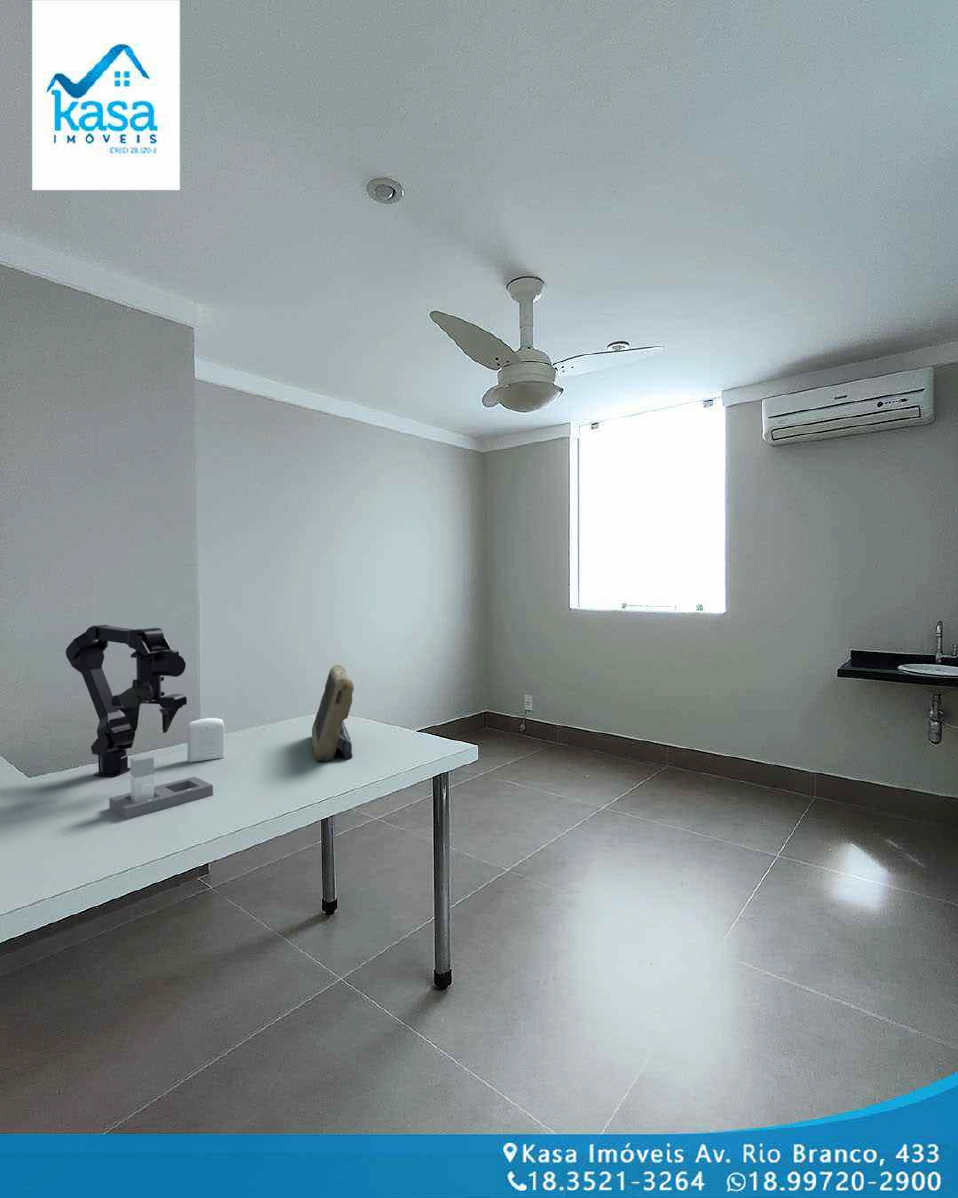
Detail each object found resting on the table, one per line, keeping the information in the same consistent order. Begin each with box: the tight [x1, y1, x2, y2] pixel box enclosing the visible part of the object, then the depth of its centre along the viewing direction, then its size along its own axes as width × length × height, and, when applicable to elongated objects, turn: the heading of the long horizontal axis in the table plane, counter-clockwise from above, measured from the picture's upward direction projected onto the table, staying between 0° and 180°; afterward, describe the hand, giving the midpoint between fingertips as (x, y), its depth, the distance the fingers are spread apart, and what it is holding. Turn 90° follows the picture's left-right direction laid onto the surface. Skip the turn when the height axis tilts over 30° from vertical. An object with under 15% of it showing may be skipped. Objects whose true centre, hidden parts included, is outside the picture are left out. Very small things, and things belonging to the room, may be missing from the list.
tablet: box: [311, 664, 355, 763], centre depth 191 cm, size 33×14×25 cm, turn 23°
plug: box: [130, 753, 155, 803], centre depth 140 cm, size 5×4×12 cm
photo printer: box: [186, 717, 225, 763], centre depth 178 cm, size 10×4×12 cm, turn 123°
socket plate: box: [108, 776, 214, 820], centre depth 144 cm, size 10×20×3 cm, turn 141°
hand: (149, 732), depth 159 cm, fingers open, 9 cm apart
